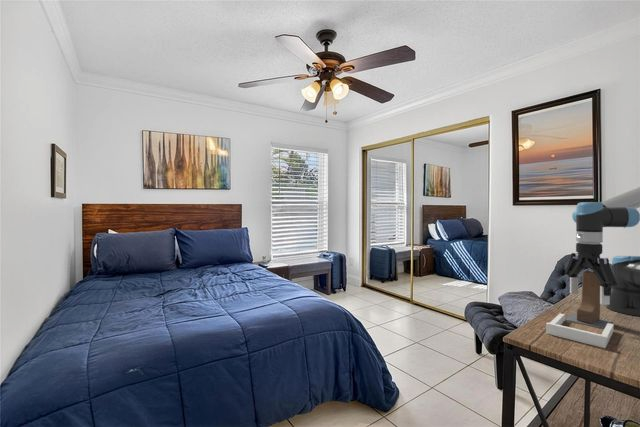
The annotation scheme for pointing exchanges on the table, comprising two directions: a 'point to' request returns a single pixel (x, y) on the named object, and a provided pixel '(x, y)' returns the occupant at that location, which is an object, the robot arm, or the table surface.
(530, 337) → the table surface
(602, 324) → the pad
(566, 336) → the white u-shaped bracket
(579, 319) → the wooden block
